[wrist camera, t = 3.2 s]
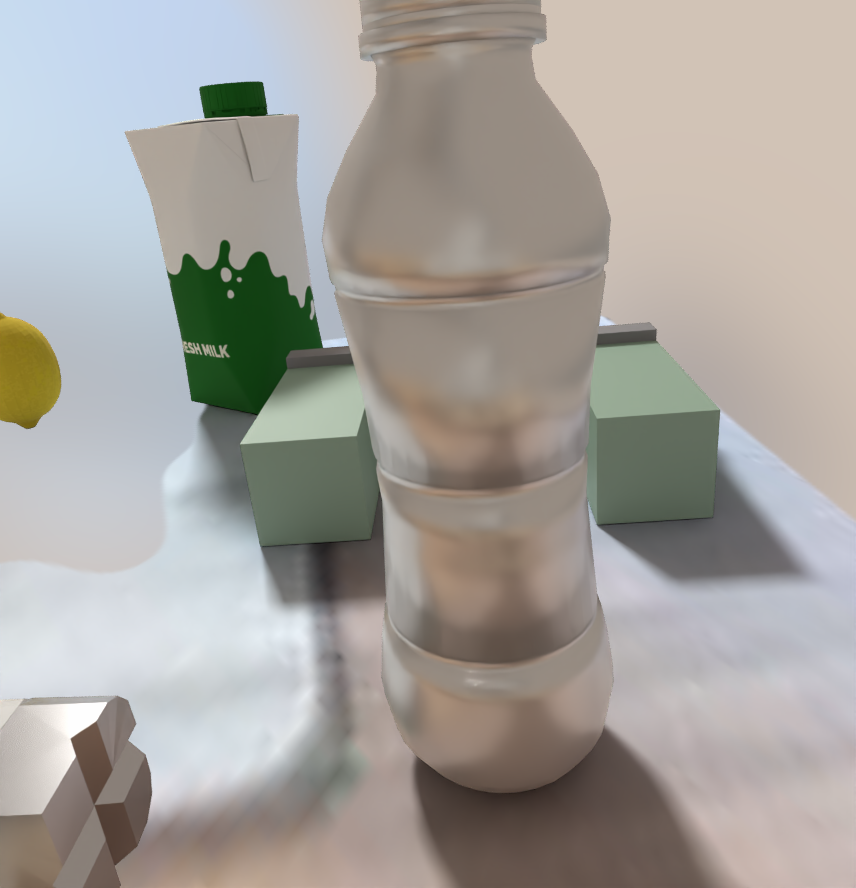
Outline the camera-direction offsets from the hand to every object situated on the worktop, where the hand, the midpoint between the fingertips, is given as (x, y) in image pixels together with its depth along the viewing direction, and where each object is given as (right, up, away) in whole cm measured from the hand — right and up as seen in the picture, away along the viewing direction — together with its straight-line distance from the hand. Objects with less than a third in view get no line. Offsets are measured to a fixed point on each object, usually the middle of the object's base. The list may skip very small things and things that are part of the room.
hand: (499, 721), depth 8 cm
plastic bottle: (+1, -6, +15) cm, 16 cm away
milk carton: (-13, +7, +47) cm, 49 cm away
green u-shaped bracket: (+2, +2, +31) cm, 31 cm away
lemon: (-28, +4, +44) cm, 52 cm away
